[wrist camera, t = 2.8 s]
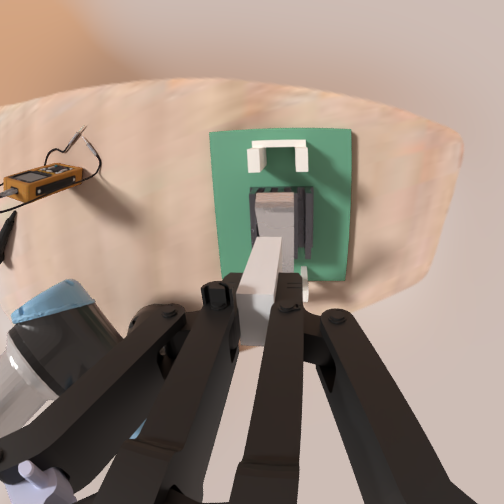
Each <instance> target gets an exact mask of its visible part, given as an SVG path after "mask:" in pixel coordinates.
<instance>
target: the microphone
mask: <svg viewBox="0 0 504 504" xmlns="http://www.w3.org/2000/svg"><path fill="white" fill-rule="evenodd" d="M15 213H16V211H14V212H13V213H12V214H11V216H10V217H9V218H8V219H7V220H6V222H5V224H4V225H3V227H2V229H1V231H0V264H1V263H2V261H3V260H4V254H3V250H4V248H5V245H6V242H7V239H8V237H9V234H10V231H11V229H12V226H13V223H14V221H13V219H14V216H15Z"/></svg>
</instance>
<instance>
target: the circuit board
mask: <svg viewBox="0 0 504 504" xmlns="http://www.w3.org/2000/svg"><path fill="white" fill-rule="evenodd" d="M209 137H210V152H211V165H212V178H213V190H214V202H215V213H216V224H217V235H218V245H219V255H220V265H221V274H222V279H223V278H224V277H225V276H226V275H227V274H229V273H230V272H233V273H244V270H245V267H246V265H247V262H248V259H249V257H250V254H251V251H252V244H251V226H250V208H249V193H250V187H265V186H313V187H314V212H313V248H311V259H305V251H304V247H298V259H294V273H299V274H300V275H301V276H302V282H303V283H302V284H303V302H308V292H309V290H308V281H345V276H346V266H347V255H348V242H349V226H350V207H351V165H352V152H351V129H334V128H269V129H248V130H233V131H220V132H209Z"/></svg>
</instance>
